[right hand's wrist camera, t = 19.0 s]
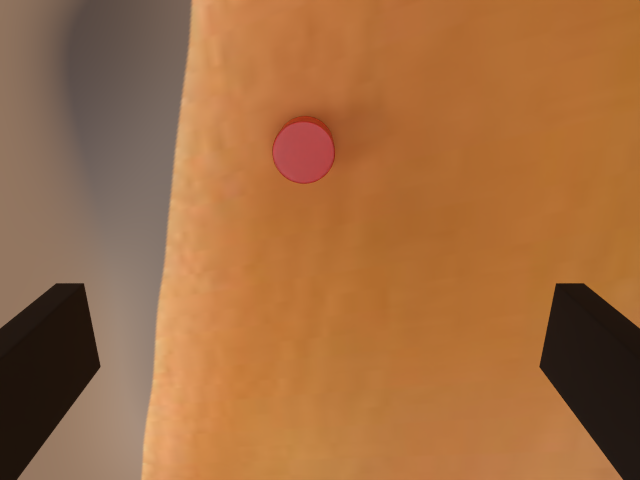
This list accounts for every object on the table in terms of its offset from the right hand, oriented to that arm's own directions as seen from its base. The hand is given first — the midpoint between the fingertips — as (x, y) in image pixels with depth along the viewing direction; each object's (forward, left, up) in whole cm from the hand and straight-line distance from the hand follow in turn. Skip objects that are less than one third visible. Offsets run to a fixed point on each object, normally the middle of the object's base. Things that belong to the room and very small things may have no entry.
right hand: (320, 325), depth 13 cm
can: (-1, +1, -27) cm, 27 cm away
